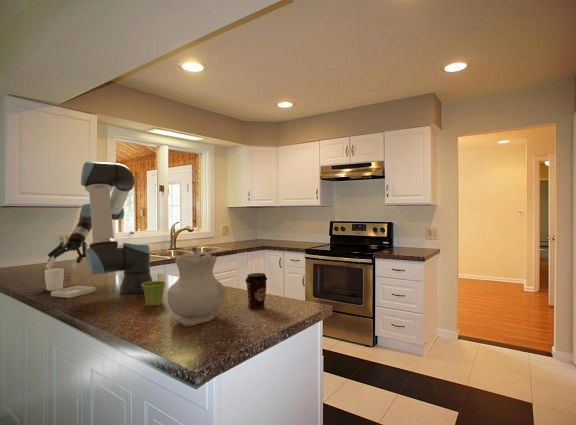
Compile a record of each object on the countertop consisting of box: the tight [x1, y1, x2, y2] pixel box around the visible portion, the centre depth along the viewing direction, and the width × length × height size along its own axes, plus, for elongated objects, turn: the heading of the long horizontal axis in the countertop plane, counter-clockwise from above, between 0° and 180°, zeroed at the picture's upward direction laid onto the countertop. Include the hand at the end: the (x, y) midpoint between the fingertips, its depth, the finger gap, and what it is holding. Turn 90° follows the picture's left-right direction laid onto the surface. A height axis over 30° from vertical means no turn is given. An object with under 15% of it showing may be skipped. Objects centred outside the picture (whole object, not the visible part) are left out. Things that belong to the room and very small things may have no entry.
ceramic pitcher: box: [166, 246, 226, 327], centre depth 117 cm, size 22×20×25 cm
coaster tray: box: [50, 285, 96, 299], centre depth 157 cm, size 13×13×2 cm
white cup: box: [44, 267, 65, 292], centre depth 167 cm, size 8×8×10 cm
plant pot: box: [141, 280, 167, 307], centre depth 136 cm, size 9×9×9 cm
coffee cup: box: [244, 272, 268, 311], centre depth 128 cm, size 9×8×13 cm
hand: (60, 267), depth 173 cm, fingers open, 13 cm apart
